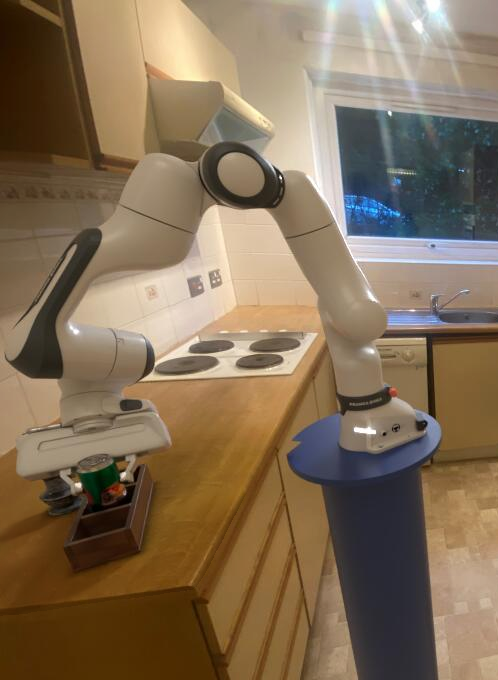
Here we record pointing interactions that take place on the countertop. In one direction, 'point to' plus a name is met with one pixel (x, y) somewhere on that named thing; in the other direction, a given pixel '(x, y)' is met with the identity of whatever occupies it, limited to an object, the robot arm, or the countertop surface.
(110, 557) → the wooden compartment tray
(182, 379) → the countertop surface
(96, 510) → the soda can
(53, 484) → the grey stacked stone piece
